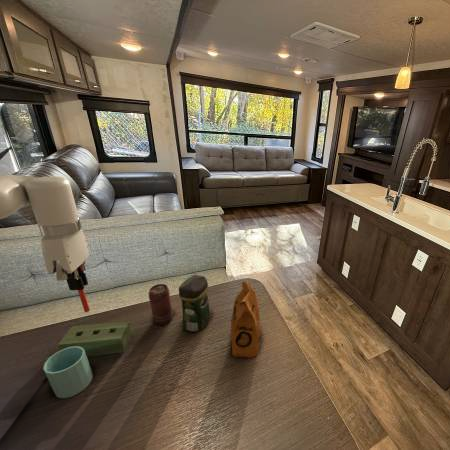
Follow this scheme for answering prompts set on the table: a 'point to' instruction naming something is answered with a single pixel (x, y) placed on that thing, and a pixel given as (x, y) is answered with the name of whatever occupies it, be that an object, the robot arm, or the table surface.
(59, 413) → the table surface
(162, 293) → the can
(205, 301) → the coffee jar
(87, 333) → the straw holder
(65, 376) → the tumbler
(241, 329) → the coffee package
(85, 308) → the straw
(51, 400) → the table surface
